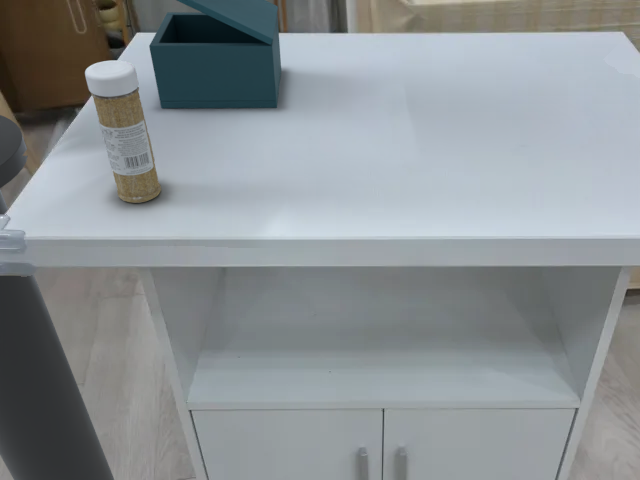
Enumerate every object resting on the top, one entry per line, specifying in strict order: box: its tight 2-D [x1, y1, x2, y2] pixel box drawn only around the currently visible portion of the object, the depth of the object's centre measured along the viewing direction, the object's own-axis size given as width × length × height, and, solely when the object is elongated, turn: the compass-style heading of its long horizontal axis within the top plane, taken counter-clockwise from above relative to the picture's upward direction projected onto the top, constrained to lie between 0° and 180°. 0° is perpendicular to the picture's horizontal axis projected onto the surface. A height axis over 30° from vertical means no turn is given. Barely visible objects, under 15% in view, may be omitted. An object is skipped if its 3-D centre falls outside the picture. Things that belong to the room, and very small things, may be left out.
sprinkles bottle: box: [84, 59, 162, 204], centre depth 67 cm, size 5×5×13 cm
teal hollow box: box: [149, 11, 282, 109], centre depth 90 cm, size 15×13×8 cm
